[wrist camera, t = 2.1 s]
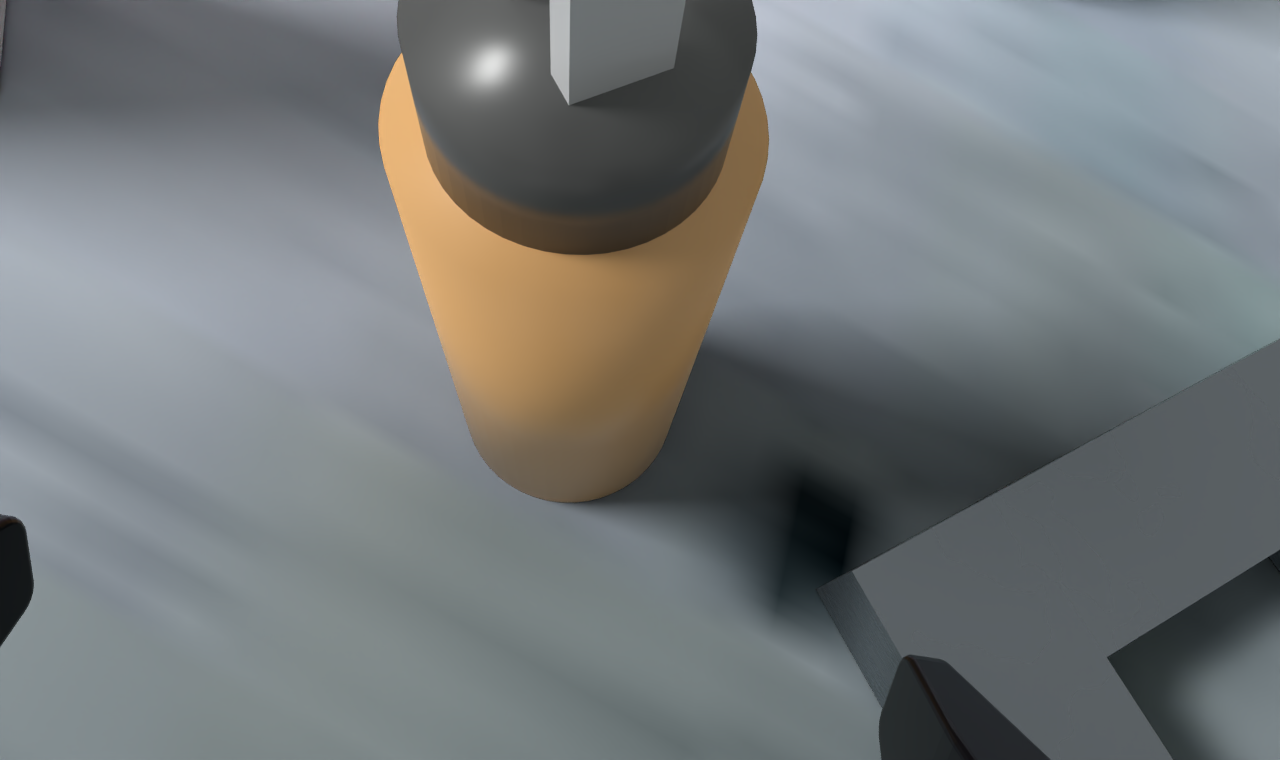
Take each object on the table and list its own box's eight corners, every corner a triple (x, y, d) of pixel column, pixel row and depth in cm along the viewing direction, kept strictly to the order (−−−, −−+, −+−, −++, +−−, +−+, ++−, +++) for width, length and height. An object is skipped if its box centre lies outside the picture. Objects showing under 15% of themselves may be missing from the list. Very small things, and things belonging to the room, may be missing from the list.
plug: (708, 448, 23) (944, 15, 9) (518, 538, 22) (435, 202, 8) (616, 280, 25) (690, -316, 11) (434, 356, 24) (234, -207, 9)
